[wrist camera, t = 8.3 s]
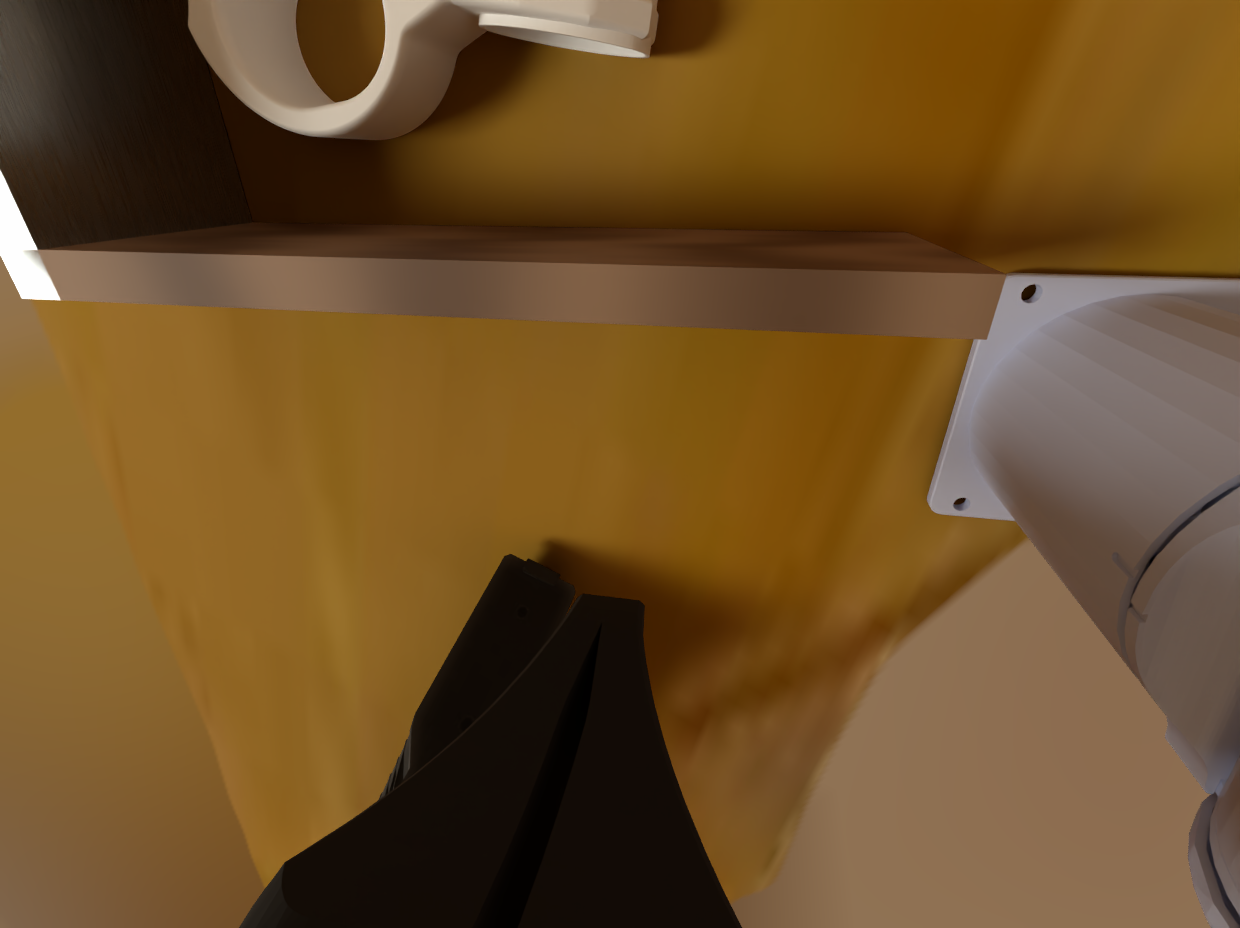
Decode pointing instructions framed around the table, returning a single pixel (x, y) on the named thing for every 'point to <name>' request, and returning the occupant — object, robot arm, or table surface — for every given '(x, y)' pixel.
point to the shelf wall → (550, 275)
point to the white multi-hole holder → (396, 54)
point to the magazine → (485, 657)
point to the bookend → (106, 130)
